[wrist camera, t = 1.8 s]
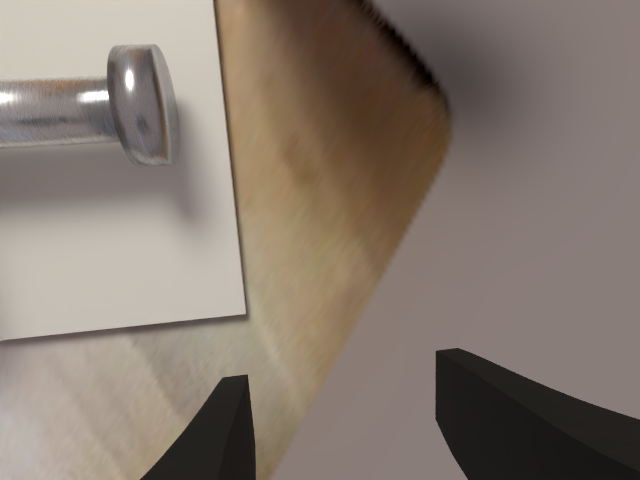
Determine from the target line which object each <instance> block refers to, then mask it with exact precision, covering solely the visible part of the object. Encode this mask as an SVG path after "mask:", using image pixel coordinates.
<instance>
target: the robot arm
mask: <svg viewBox="0 0 640 480" xmlns="http://www.w3.org/2000/svg"><path fill="white" fill-rule="evenodd" d="M436 421H437V423H438V425H439V427H440V430H441V432H442V434H443V436H444V438H445V441H446V442H447V444H448V447H449V449H450V451H451V453H452V455H453V456H454V458H455V460H456V461H457V463H458V464H459V466H460V467H461V469H462V471H463V472H464V474H465V476H466V477H467V479H468V480H640V420H639V419H636V418H632V417H629V416H626V415H623V414H620V413H617V412H614V411H611V410H608V409H605V408H601V407H599V406H596V405H593V404H590V403H587V402H585V401H582V400H579V399H577V398H574V397H571V396H569V395H566V394H564V393H561V392H559V391H556V390H554V389H551V388H549V387H547V386H544V385H542V384H540V383H537V382H535V381H532V380H530V379H528V378H526V377H523V376H521V375H519V374H516V373H515V372H512V371H510V370H508V369H506V368H503V367H501V366H499V365H497V364H495V363H493V362H490V361H488V360H486V359H484V358H481V357H479V356H477V355H475V354H472V353H470V352H467V351H465V350H462V349H459V348H454V349H447V350H439V351H436ZM140 480H256V460H255V438H254V428H253V419H252V410H251V401H250V392H249V382H248V375H240V376H232V377H224V378H222V379H221V381H220V382H219V383H218V384H217V386H216V387H215V389H214V390H213V392H212V393H211V395H210V396H209V398H208V399H207V400H206V402H205V403H204V405H203V406H202V407H201V409H200V410H199V412H198V413H197V414H196V416H195V417H194V418H193V419H192V421H191V422H190V423H189V425H188V426H187V427H186V429H185V430H184V431H183V432H182V434H181V435H180V436H179V437H178V438H177V440H176V441H175V442H174V443H173V444H172V445H171V447H170V448H169V449H168V450H167V451H166V452H165V454H164V455H163V456H162V457H161V458H160V459H159V461H158V462H157V463H156V464H155V465H154V466H153V467H152V468H151V469H150V470H149V471H148V472H147V473H146V474H145V475H144V476H143V477H142V478H141V479H140Z"/></svg>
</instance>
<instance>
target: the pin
mask: <svg viewBox="0 0 640 480" xmlns="http://www.w3.org/2000/svg"><path fill="white" fill-rule="evenodd" d="M113 142H120V143H121V145H122V148H123V150H124V152H125V154H126V155H127V157H128V159H129V160H130V161H131V163H132V164H134V165H135V166H137V167H147V166H163V165H175V164H176V163H177V160H178V157H179V148H180V134H179V120H178V112H177V105H176V99H175V94H174V89H173V84H172V80H171V76H170V73H169V69H168V66H167V63H166V60H165V58H164V55H163V53H162V51H161V50H160V48H159V47H158V46H157V45H156V44H142V45H115V46H113V47H112V48H111V50H110V53H109V56H108V62H107V75H104V76H76V77H48V78H20V79H0V149H4V148H22V147H40V146H58V145H76V144H94V143H113Z"/></svg>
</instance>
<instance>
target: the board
mask: <svg viewBox="0 0 640 480" xmlns="http://www.w3.org/2000/svg"><path fill="white" fill-rule="evenodd" d="M142 44H156V45H157V46H158V47H159V48H160V50H161V51H162V53H163V55H164V58H165V60H166V63H167V66H168V69H169V73H170V76H171V80H172V84H173V89H174V94H175V99H176V105H177V112H178V120H179V134H180V148H179V157H178V160H177V163H176V164H175V165H163V166H147V167H137V166H135V165H134V164H132V163H131V161H130V160H129V159H128V157H127V155H126V154H125V152H124V150H123V148H122V145H121V143H120V142H113V143H94V144H76V145H58V146H40V147H22V148H4V149H0V340H9V339H18V338H27V337H36V336H46V335H55V334H64V333H74V332H83V331H92V330H101V329H111V328H120V327H129V326H139V325H148V324H157V323H166V322H176V321H185V320H194V319H203V318H213V317H222V316H231V315H241V314H246V302H245V292H244V283H243V273H242V264H241V254H240V245H239V235H238V226H237V216H236V207H235V197H234V188H233V178H232V169H231V159H230V150H229V140H228V131H227V121H226V112H225V102H224V93H223V83H222V74H221V64H220V55H219V45H218V36H217V26H216V17H215V7H214V0H0V79H20V78H48V77H76V76H104V75H107V62H108V56H109V53H110V50H111V48H112V47H113V46H115V45H142Z"/></svg>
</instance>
